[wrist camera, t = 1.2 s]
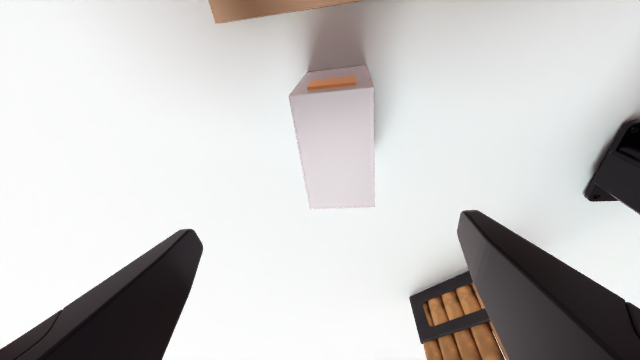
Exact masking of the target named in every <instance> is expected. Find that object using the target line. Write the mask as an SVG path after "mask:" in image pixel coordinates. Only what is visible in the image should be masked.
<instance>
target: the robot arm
mask: <svg viewBox="0 0 640 360" xmlns="http://www.w3.org/2000/svg"><path fill="white" fill-rule="evenodd" d="M632 128H633V129H632ZM631 129H632V130H631ZM584 196H585V198H587V199H588V200H589V201H593V202H594V201H621V202H622V203H623V204H625V205H626V206H628V207H629V208H631V209H632V210H634V211H635V212H637V213H638V214H639V215H640V120H632V121H629V122H627V123H626V124H624V125H623V126H622V128H621V129H620V131H619V133H618V135H617V136H616V138H615V140H614V142H613V144H612V145H611V147H610V149H609V151H608V153H607V155H606V156H605V158H604V160H603V162H602V164H601V165H600V167H599V169H598V171H597V173H596V174H595V176H594V178H593V180H592V182H591V183H590V185H589V187H588V189H587V191H586V192H585V195H584ZM457 234H458V239H459V242H460V245H461V248H462V251H463V254H464V257H465V259H466V262H467V265H468V268H469V271H470V274H471V277H472V280H473V283H474V285H475V287H476V290H477V292H478V294H479V296H480V298H481V301H482V303H483V305H484V307H485V309H486V311H487V313H488V316H489V318H490V320H491V322H492V324H493V326H494V328H495V330H496V333H497V335H498V337H499V339H500V341H501V343H502V345H503V348H504V350H505V352H506V354H507V356H508V358H509V360H640V309H639V308H638V307H636V306H634V305H633V304H631V303H629V302H625V300H624V299H623V298H621V297H619V296H618V295H616V294H615V293H613V292H611V291H610V290H608V289H606V288H605V287H603V286H601V285H600V284H598V283H596V282H595V281H593V280H592V279H590V278H588V277H587V276H585V275H583V274H582V273H580V272H578V271H577V270H575V269H573V268H572V267H570V266H569V265H567V264H565V263H564V262H562V261H560V260H559V259H557V258H555V257H554V256H552V255H550V254H549V253H547V252H545V251H544V250H542V249H541V248H539V247H537V246H536V245H534V244H532V243H531V242H529V241H527V240H526V239H524V238H522V237H521V236H519V235H518V234H516V233H514V232H513V231H511V230H509V229H508V228H506V227H504V226H503V225H501V224H499V223H498V222H496V221H495V220H493V219H491V218H490V217H488V216H486V215H485V214H483V213H481V212H480V211H478V210H466V211H462V212H461V214H460V219H459V224H458V229H457ZM202 252H203V245H202V243H201V241H200V239H199V238H198V236H197V234H196V233H195V231H194V230H193V229H182V230H179V231H177V232H176V233H175V234H173V235H172V236H170V237H169V238H167V239H166V240H164V241H163V242H161V243H160V244H158V245H157V246H155V247H154V248H152V249H151V250H149V251H148V252H146V253H145V254H143V255H142V256H140V257H139V258H137V259H136V260H134V261H133V262H131V263H130V264H128V265H127V266H125V267H124V268H122V269H121V270H120V271H118V272H117V273H115V274H114V275H112V276H111V277H109V278H108V279H106V280H105V281H103V282H102V283H100V284H99V285H97V286H96V287H94V288H93V289H91V290H90V291H88V292H87V293H85V294H84V295H82V296H81V297H79V298H78V299H76V300H75V301H73V302H72V303H70V304H69V305H67V306H66V307H65V308H64V309H63V310H60V311H58V312H57V313H55V314H54V315H53V316H51V317H50V318H48V319H47V320H45V321H44V322H42V323H41V324H39V325H38V326H36V327H34V328H33V329H31V330H30V331H28V332H27V333H25V334H24V335H22V336H21V337H19V338H18V339H16V340H14V341H13V342H11V343H10V344H8V345H7V346H5V347H3V348H2V349H0V360H162V358H163V356H164V353H165V351H166V348H167V346H168V344H169V341H170V339H171V336H172V334H173V331H174V329H175V327H176V324H177V322H178V319H179V317H180V315H181V312H182V310H183V307H184V305H185V303H186V300H187V298H188V295H189V293H190V290H191V287H192V284H193V281H194V278H195V274H196V271H197V268H198V265H199V261H200V258H201V255H202Z"/></svg>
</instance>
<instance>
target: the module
mask: <svg viewBox="0 0 640 360" xmlns="http://www.w3.org/2000/svg"><path fill="white" fill-rule="evenodd" d="M289 101H290V106H291V111H292V116H293V122H294V127H295V132H296V137H297V143H298V148H299V153H300V158H301V164H302V169H303V174H304V179H305V185H306V190H307V195H308V200H309V206H310V209H325V208H356V207H375V163H374V86H373V83H372V80H371V77H370V74H369V71H368V68H367V65H362V66H354V67H346V68H337V69H329V70H320V71H312V72H307V73H306V74H305V76H304V77H303V78H302V80H301V81H300V82H299V83H298V85H297V86H296V87H295V89H294V90H293V91H292V92H291V94H290V95H289Z"/></svg>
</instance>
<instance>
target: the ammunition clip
mask: <svg viewBox="0 0 640 360" xmlns="http://www.w3.org/2000/svg"><path fill="white" fill-rule="evenodd" d="M475 293H476V294H475ZM476 295H477V296H476ZM479 302H480V303H479ZM410 303H411V307H412V310H413V314H414V318H415V322H416V326H417V330H418V334H419V338H420V342H421V343H422V344H423V345H424V349H425V354H426V358H427V360H505V359H504V357H503V355H502V352H503V354H504V356H505V358H506V359H507V360H509V358H508V356H507V354H506V352H505V350H504V348H503V345H502V343H501V341H500V339H499V337H498V335H497V333H496V330H495V328H494V326H493V324H492V322H491V320H490V318H489V316H488V313H487V311H486V309H485V307H484V305H483V303H482V301H481V298H480V296H479V294H478V292H477V290H476V287H475V285H474V283H473V280H472V277H471V274H470V271H467V272H465V273H463V274H461V275H458V276H456V277H454V278H452V279H449V280H447V281H445V282H443V283H440V284H438V285H436V286H433V287H431V288H429V289H427V290H424V291H422V292H420V293H418V294H415V295H413V296H411V297H410ZM480 304H481V305H480ZM481 306H482V307H481ZM482 308H483V309H482ZM492 331H493V332H494V334H493V332H492ZM494 335H495V336H494ZM495 337H496V339H497V341H498V343H499V346H500V348H501V350H502V352H501V350H500V348H499V346H498V343H497V341H496V339H495Z"/></svg>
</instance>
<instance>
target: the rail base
mask: <svg viewBox="0 0 640 360" xmlns="http://www.w3.org/2000/svg"><path fill="white" fill-rule="evenodd" d="M357 1H364V0H209V3H210V6H211V10H212V13H213V16H214V20H215V23H225V22H232V21H238V20H244V19H251V18H257V17H263V16H269V15H276V14H282V13H288V12H294V11H301V10H307V9H313V8H320V7H326V6H332V5H338V4H345V3H351V2H357Z"/></svg>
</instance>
